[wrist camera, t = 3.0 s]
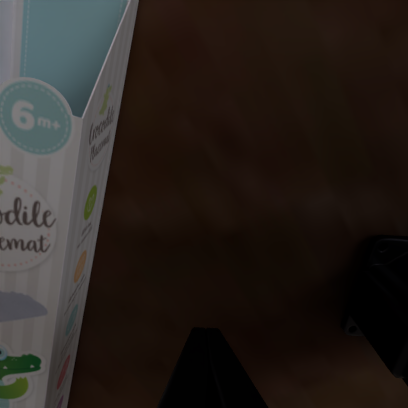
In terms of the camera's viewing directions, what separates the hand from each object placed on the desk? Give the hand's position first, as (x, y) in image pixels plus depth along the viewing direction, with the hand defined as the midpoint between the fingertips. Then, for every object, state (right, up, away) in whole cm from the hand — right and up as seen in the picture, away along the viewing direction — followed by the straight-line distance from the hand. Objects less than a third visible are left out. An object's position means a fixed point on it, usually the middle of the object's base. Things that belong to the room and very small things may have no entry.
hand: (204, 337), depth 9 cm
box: (-8, +3, +5) cm, 10 cm away
